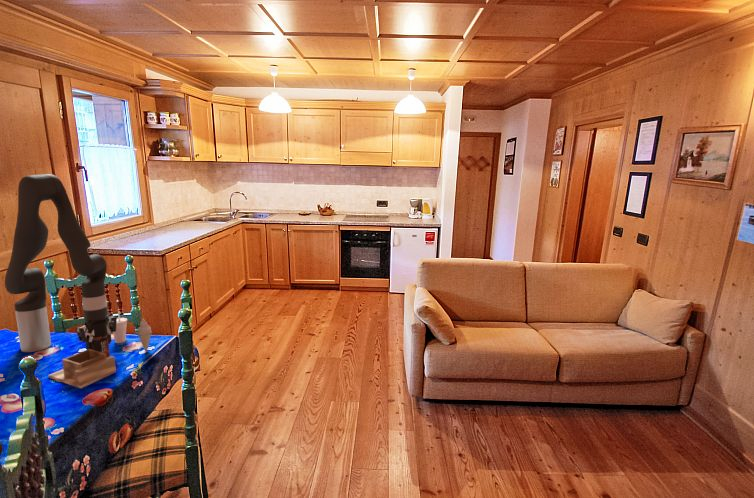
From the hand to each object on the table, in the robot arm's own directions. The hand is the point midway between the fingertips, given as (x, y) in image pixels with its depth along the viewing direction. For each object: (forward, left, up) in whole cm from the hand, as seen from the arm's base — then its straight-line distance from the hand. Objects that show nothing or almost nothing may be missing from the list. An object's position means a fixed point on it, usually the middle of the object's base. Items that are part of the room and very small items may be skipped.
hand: (99, 346), depth 146 cm
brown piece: (+7, -11, -5) cm, 14 cm away
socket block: (+9, -11, -4) cm, 15 cm away
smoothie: (-7, +13, -5) cm, 16 cm away
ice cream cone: (+11, +11, -5) cm, 16 cm away
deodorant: (0, 0, -5) cm, 5 cm away
